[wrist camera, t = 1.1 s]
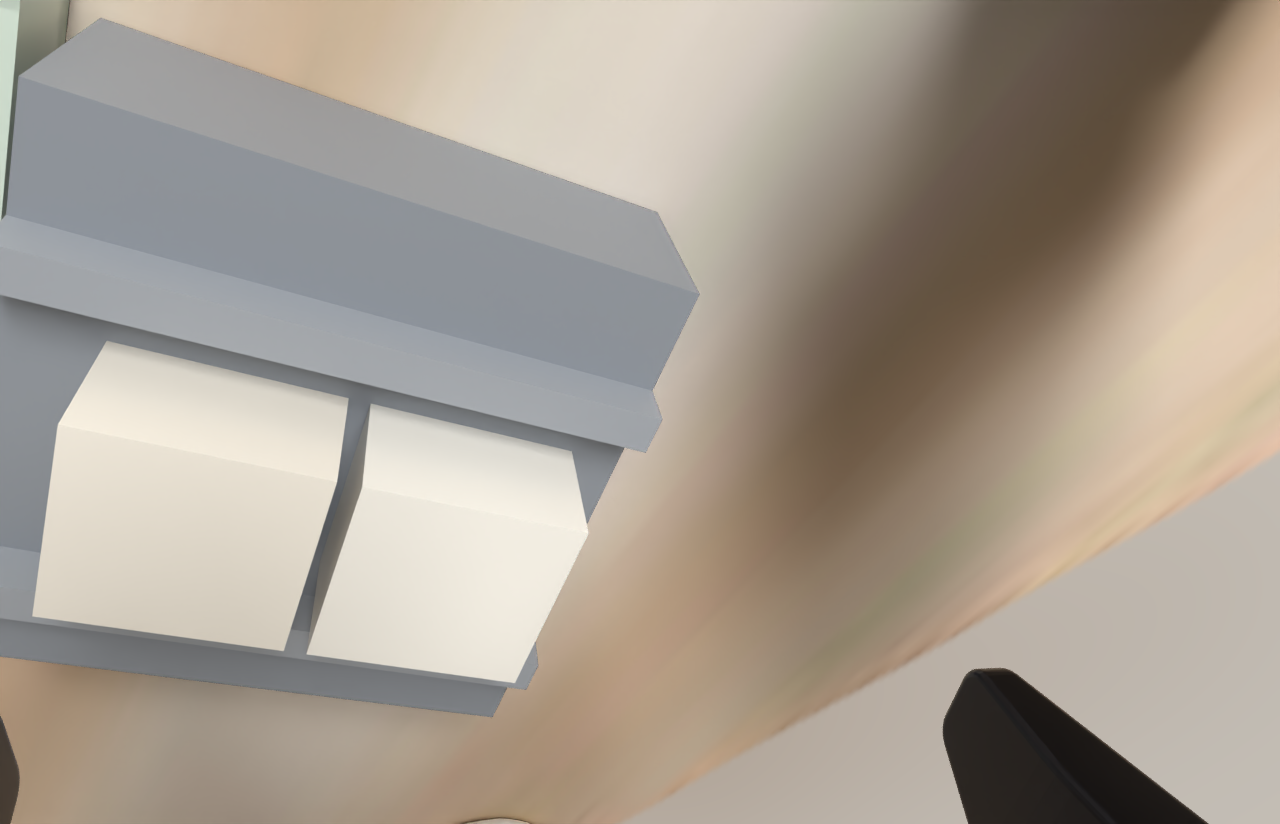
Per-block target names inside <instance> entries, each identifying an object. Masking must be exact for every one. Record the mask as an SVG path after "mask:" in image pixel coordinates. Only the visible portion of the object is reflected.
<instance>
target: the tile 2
mask: <svg viewBox="0 0 1280 824" xmlns="http://www.w3.org/2000/svg"><path fill="white" fill-rule="evenodd" d="M588 534H589V533H588V528H587V523H586V518H585V513H584V508H583V503H582V499H581V494H580V489H579V484H578V479H577V474H576V469H575V465H574V460H573V455H572V451H568V450H564V449H560V448H556V447H551V446H547V445H543V444H539V443H535V442H530V441H526V440H522V439H518V438H514V437H509V436H505V435H501V434H497V433H493V432H488V431H484V430H480V429H476V428H472V427H467V426H463V425H459V424H455V423H450V422H446V421H442V420H438V419H434V418H429V417H425V416H421V415H417V414H413V413H408V412H404V411H400V410H396V409H392V408H387V407H383V406H379V405H375V404H370V407H369V410H368V414H367V417H366V420H365V423H364V426H363V429H362V432H361V435H360V438H359V441H358V445H357V448H356V451H355V454H354V457H353V460H352V463H351V466H350V469H349V473H348V476H347V479H346V482H345V485H344V488H343V491H342V494H341V497H340V500H339V504H338V507H337V510H336V513H335V516H334V519H333V522H332V525H331V528H330V532H329V535H328V538H327V541H326V544H325V547H324V550H323V553H322V556H321V560H320V565H319V571H318V578H317V585H316V592H315V599H314V606H313V612H312V619H311V626H310V633H309V640H308V647H307V654H308V655H315V656H322V657H330V658H337V659H344V660H351V661H359V662H366V663H373V664H380V665H388V666H395V667H402V668H409V669H416V670H424V671H431V672H438V673H445V674H453V675H460V676H467V677H474V678H482V679H489V680H496V681H503V682H510V683H515V682H516V680H517V678H518V676H519V674H520V672H521V670H522V668H523V666H524V663H525V661H526V659H527V657H528V655H529V653H530V651H531V649H532V647H533V645H534V643H535V641H536V639H537V637H538V635H539V633H540V631H541V629H542V627H543V625H544V623H545V621H546V619H547V617H548V615H549V613H550V611H551V609H552V607H553V605H554V603H555V601H556V599H557V597H558V595H559V593H560V591H561V588H562V586H563V584H564V582H565V580H566V578H567V576H568V574H569V572H570V570H571V568H572V566H573V564H574V562H575V560H576V558H577V556H578V554H579V552H580V550H581V548H582V546H583V544H584V542H585V540H586V538H587V536H588Z"/></svg>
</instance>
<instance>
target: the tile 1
mask: <svg viewBox="0 0 1280 824" xmlns="http://www.w3.org/2000/svg"><path fill="white" fill-rule="evenodd" d="M348 400H349V398H345V397H341V396H337V395H333V394H329V393H324V392H320V391H316V390H312V389H308V388H303V387H299V386H295V385H291V384H286V383H282V382H278V381H274V380H270V379H265V378H261V377H257V376H253V375H249V374H244V373H240V372H236V371H232V370H228V369H223V368H219V367H215V366H211V365H207V364H202V363H198V362H194V361H190V360H186V359H181V358H177V357H173V356H169V355H165V354H160V353H156V352H152V351H148V350H144V349H139V348H135V347H131V346H127V345H122V344H118V343H114V342H110V341H106V343H105V345H104V346H103V348H102V350H101V352H100V353H99V355H98V357H97V358H96V360H95V362H94V364H93V365H92V367H91V369H90V370H89V372H88V374H87V376H86V377H85V379H84V381H83V382H82V384H81V386H80V387H79V389H78V391H77V393H76V394H75V396H74V398H73V399H72V401H71V403H70V405H69V406H68V408H67V410H66V411H65V413H64V415H63V417H62V418H61V420H60V422H59V423H58V427H57V434H56V442H55V449H54V457H53V464H52V472H51V479H50V487H49V494H48V502H47V509H46V517H45V524H44V532H43V539H42V547H41V554H40V562H39V569H38V577H37V584H36V592H35V599H34V607H33V614H32V616H33V617H40V618H48V619H55V620H62V621H69V622H77V623H84V624H91V625H98V626H106V627H113V628H120V629H127V630H134V631H142V632H149V633H156V634H163V635H171V636H178V637H185V638H192V639H200V640H207V641H214V642H221V643H228V644H236V645H243V646H250V647H257V648H265V649H272V650H279V651H284V648H285V645H286V642H287V639H288V636H289V632H290V629H291V626H292V623H293V620H294V617H295V614H296V610H297V607H298V604H299V601H300V598H301V595H302V591H303V588H304V585H305V582H306V579H307V576H308V572H309V569H310V566H311V563H312V560H313V557H314V553H315V550H316V547H317V544H318V541H319V538H320V535H321V531H322V528H323V525H324V522H325V519H326V516H327V512H328V509H329V506H330V503H331V500H332V497H333V493H334V490H335V487H336V484H337V480H338V472H339V465H340V458H341V451H342V443H343V436H344V429H345V422H346V415H347V407H348Z"/></svg>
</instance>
